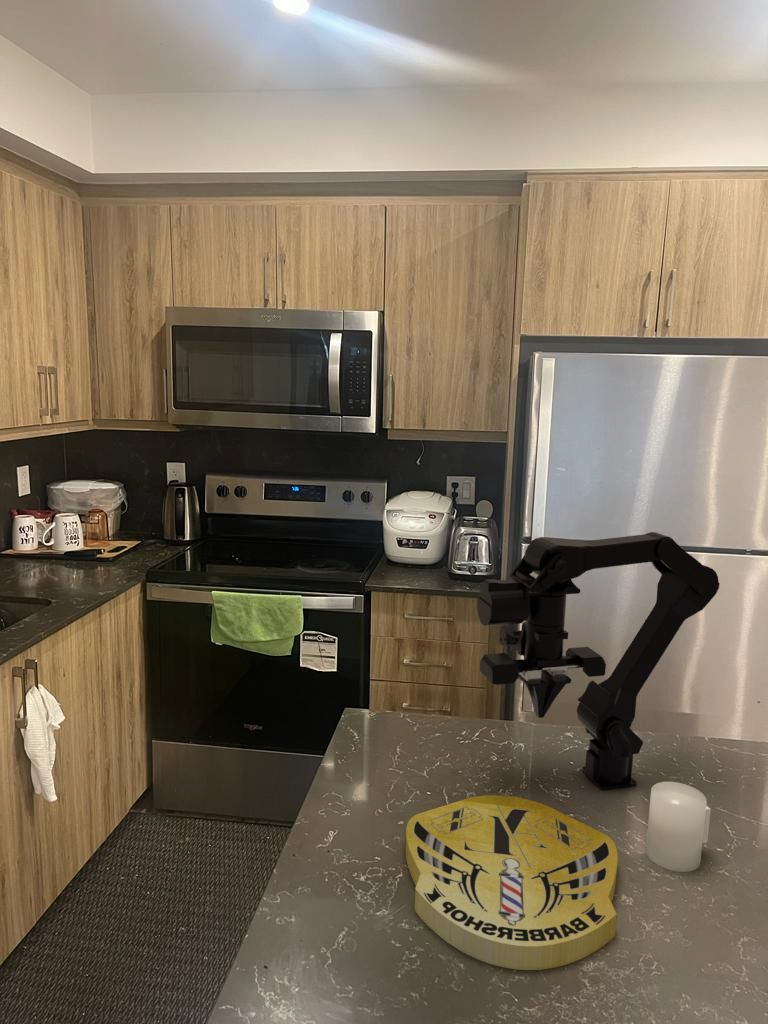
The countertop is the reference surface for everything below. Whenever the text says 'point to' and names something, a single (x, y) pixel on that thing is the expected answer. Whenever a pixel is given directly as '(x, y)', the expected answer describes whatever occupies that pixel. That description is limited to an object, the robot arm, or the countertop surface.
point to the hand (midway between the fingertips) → (539, 716)
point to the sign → (513, 881)
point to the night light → (677, 826)
